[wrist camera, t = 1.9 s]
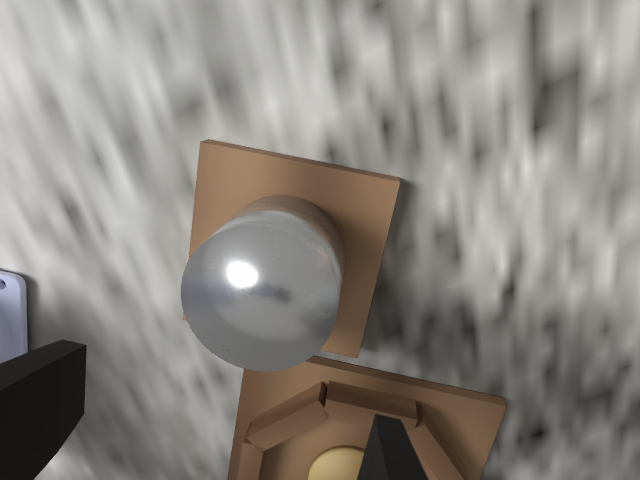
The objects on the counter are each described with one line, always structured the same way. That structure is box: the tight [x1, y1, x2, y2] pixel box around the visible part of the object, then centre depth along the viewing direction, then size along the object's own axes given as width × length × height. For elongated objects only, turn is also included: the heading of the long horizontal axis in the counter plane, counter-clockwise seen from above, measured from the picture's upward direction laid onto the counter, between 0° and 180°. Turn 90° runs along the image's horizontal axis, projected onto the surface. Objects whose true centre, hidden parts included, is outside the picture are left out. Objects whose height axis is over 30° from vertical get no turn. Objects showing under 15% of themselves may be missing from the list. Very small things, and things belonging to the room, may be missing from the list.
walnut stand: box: [183, 139, 400, 358], centre depth 20 cm, size 8×8×1 cm
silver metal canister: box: [181, 195, 346, 371], centre depth 17 cm, size 5×5×4 cm
